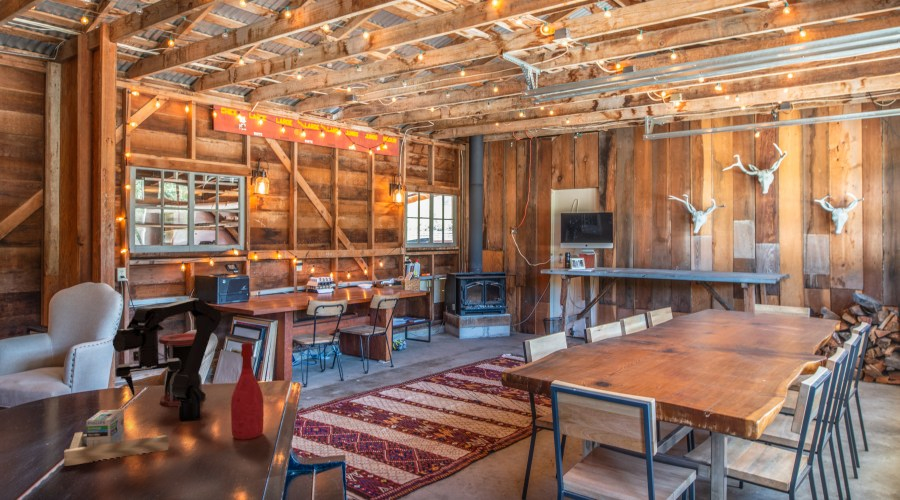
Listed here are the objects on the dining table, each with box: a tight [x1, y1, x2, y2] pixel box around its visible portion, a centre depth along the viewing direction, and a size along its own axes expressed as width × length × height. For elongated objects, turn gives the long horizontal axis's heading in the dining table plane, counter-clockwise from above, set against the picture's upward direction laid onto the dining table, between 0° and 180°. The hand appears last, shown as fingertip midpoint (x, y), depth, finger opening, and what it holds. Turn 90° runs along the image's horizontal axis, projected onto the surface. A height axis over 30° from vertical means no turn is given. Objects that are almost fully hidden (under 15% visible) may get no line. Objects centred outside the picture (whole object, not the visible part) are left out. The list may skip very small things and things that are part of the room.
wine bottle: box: [230, 341, 265, 440], centre depth 185 cm, size 10×10×30 cm
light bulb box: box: [86, 409, 125, 447], centre depth 173 cm, size 11×7×11 cm, turn 10°
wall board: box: [63, 431, 169, 467], centre depth 175 cm, size 26×17×4 cm, turn 118°
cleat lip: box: [82, 433, 87, 447], centre depth 179 cm, size 6×2×3 cm, turn 118°
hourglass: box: [158, 332, 206, 407], centre depth 225 cm, size 16×16×25 cm
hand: (149, 393), depth 189 cm, fingers open, 9 cm apart
